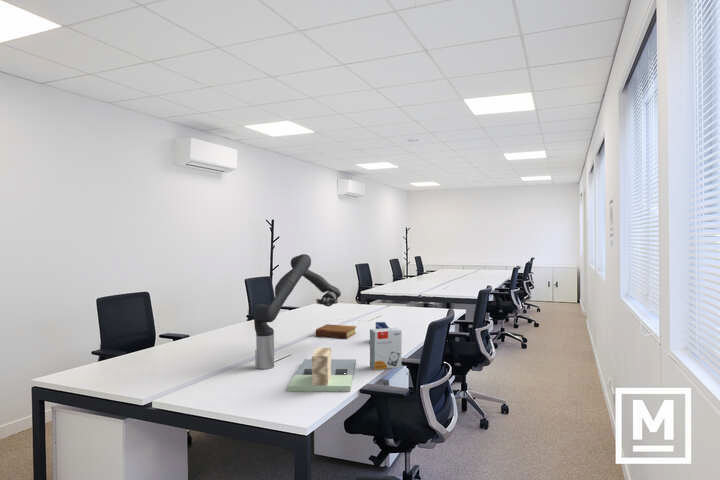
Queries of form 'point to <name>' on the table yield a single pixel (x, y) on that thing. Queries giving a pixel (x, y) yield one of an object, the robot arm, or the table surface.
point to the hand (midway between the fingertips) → (324, 303)
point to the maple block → (321, 366)
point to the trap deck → (337, 379)
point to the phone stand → (381, 325)
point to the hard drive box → (385, 348)
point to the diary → (335, 331)
